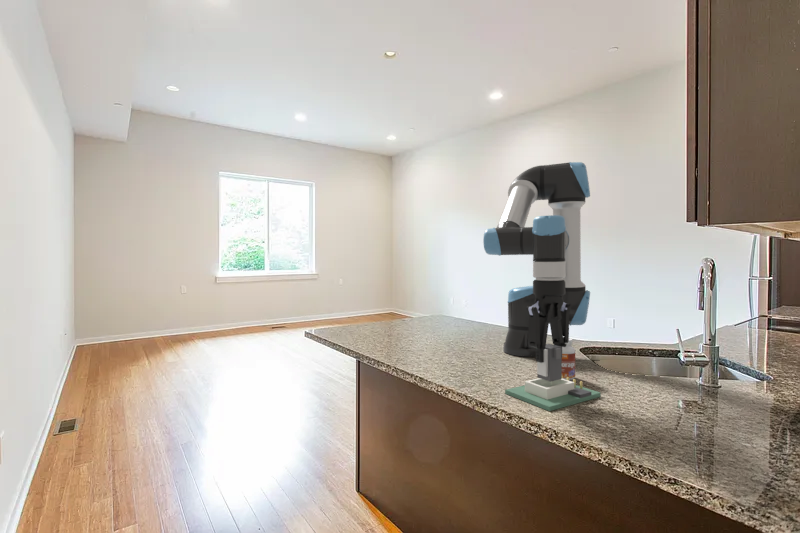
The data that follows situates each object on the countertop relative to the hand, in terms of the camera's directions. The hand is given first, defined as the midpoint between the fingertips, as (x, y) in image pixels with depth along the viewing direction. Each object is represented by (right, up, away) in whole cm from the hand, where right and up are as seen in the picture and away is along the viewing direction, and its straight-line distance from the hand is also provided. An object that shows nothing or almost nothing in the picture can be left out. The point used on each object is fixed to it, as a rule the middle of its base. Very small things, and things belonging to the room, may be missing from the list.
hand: (549, 373), depth 106 cm
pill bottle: (+9, -5, +15) cm, 19 cm away
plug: (0, -1, 0) cm, 1 cm away
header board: (+1, -6, +1) cm, 6 cm away
